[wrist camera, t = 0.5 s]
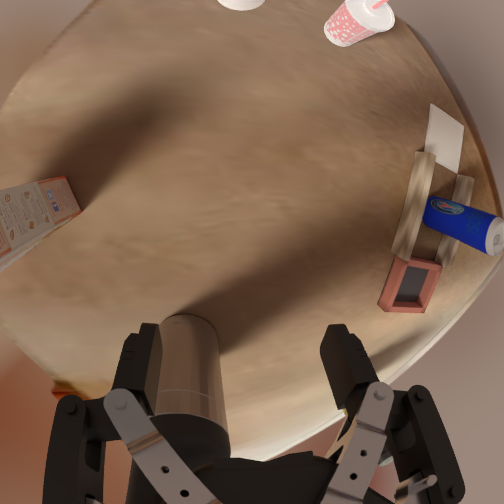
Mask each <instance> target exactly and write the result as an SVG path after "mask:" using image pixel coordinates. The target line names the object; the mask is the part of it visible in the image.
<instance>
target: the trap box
mask: <svg viewBox="0 0 504 504" xmlns="http://www.w3.org/2000/svg"><path fill="white" fill-rule="evenodd" d="M442 268H443V266H442V265H440V264H438V263H436V262H435V261H431V260H427V259H422V258H417V257H413V256H411V257H410V260H409V261H406V260H403V259H401V258H400V257H398V256H396V255H395V257H394V260H393V263H392V266H391V269H390V272H389V274H388V277H387V280H386V283H385V285H384V288H383V291H382V293H381V296H380V298H379V301H378V303H377V305H378V306H379V307H380V308H381V309H382V310H383V311H384V312H401V313H424V312H425V310H426V308H427V305H428V303H429V301H430V298H431V296H432V294H433V291H434V289H435V286H436V284H437V281H438V278H439V276H440V273H441V270H442Z"/></svg>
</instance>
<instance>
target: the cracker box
mask: <svg viewBox="0 0 504 504" xmlns="http://www.w3.org/2000/svg"><path fill="white" fill-rule="evenodd" d="M80 213H81V209H80V207H79V205H78V203H77V201H76V199H75V197H74V194H73V192H72V190H71V188H70V186H69V183H68V181H67V179H66V176H60V177H55V178H50V179H45V180H41V181H36V182H31V183H27V184H23V185H19V186H15V187H11V188H7V189H3V190H0V272H1V271H3V270H4V269H5V268H7V267H8V266H10V265H11V264H12V263H14V262H15V261H17V260H18V259H20V258H21V257H23V256H24V255H25V254H26V253H28V252H29V251H30V250H32V249H33V248H34V247H35V246H37V245H38V244H39V243H41V242H42V241H43V240H45V239H46V238H47V237H49V236H50V235H51V234H53V233H54V232H55V231H57V230H58V229H59V228H61V227H62V226H63V225H65V224H66V223H68V222H69V221H70V220H72V219H73V218H75V217H76V216H77V215H79V214H80Z"/></svg>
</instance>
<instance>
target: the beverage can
mask: <svg viewBox="0 0 504 504" xmlns="http://www.w3.org/2000/svg"><path fill="white" fill-rule="evenodd" d="M422 220H423V222H424V224H425V225H426V226H427V227H429V228H432V229H434V230H436V231H439V232H441V233H443V234H445V235H448V236H450V237H452V238H454V239H456V240H459V241H461V242H463V243H465V244H467V245H469V246H471V247H473V248H476V249H478V250H480V251H482V252H484V253H486V254H488V255H490V256H498V255H500V254H501V252H502V251H503V249H504V220H503V219H501V218H500V217H498V216H495V215H493V214H490V213H487V212H484V211H481V210H478V209H475V208H472V207H469V206H466V205H463V204H460V203H456V202H453V201H450V200H447V199H443V198H440V197H436V196H432V197H430V198H428V199H427V202H426V206H425V210H424V213H423V217H422Z"/></svg>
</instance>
